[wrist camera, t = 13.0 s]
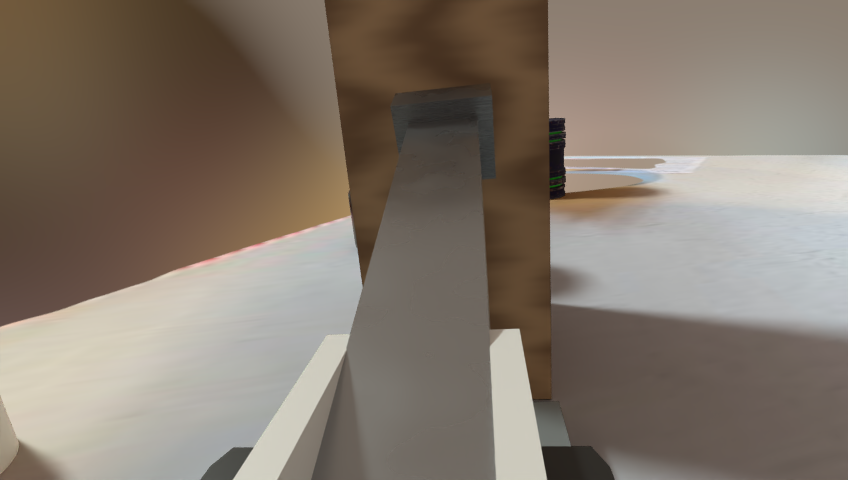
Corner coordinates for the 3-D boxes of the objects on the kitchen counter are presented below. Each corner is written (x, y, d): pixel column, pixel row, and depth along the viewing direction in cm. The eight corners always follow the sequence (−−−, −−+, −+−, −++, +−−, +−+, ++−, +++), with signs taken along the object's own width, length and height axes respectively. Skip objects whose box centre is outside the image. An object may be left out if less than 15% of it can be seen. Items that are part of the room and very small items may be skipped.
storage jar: (568, 190, 97) (569, 117, 93) (562, 200, 88) (562, 120, 84) (521, 190, 101) (519, 120, 97) (511, 200, 92) (508, 123, 88)
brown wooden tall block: (377, 400, 33) (303, -159, 23) (409, 304, 48) (372, -56, 38) (551, 399, 31) (545, -200, 22) (527, 300, 46) (517, -77, 37)
